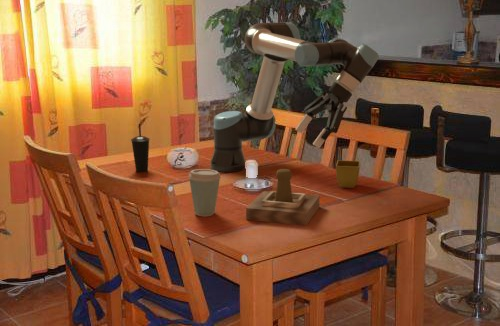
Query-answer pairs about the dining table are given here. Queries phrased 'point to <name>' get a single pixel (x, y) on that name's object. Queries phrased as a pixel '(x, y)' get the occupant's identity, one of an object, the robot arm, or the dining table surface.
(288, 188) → the pepper mill
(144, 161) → the drinking cup
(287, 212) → the walnut stand
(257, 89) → the robot arm
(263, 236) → the dining table surface
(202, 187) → the disposable coffee cup
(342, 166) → the flower pot
